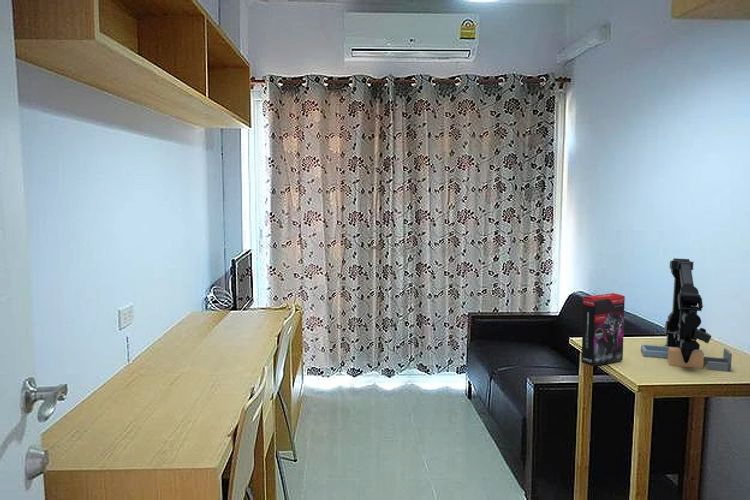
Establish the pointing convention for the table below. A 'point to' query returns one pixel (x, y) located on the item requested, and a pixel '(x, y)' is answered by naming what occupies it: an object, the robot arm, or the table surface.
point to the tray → (655, 351)
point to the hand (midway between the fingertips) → (684, 361)
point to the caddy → (677, 360)
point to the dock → (719, 362)
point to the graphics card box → (602, 329)
